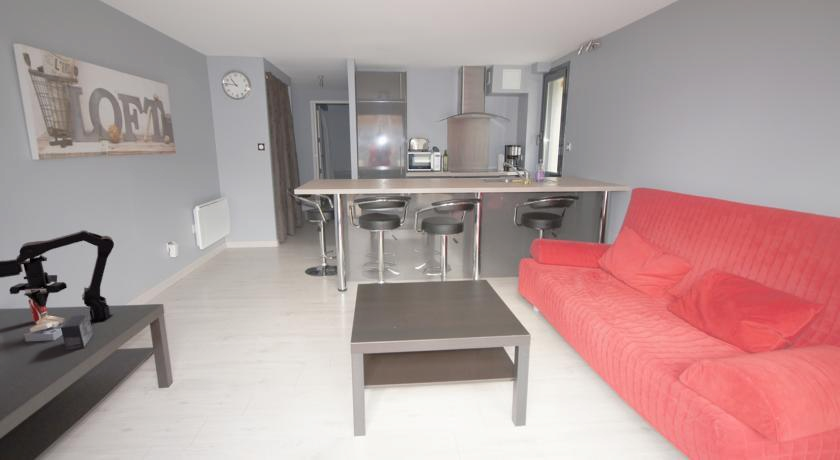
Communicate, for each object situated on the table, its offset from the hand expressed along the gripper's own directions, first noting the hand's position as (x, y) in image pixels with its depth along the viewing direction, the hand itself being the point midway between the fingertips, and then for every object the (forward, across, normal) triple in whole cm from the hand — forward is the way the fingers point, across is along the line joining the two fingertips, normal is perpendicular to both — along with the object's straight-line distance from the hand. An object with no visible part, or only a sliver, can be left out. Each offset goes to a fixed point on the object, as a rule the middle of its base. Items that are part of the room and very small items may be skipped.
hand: (42, 306), depth 176 cm
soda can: (+12, +11, -10) cm, 19 cm away
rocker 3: (+6, -3, 0) cm, 7 cm away
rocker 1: (+6, -3, +7) cm, 10 cm away
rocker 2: (+6, -3, +4) cm, 8 cm away
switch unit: (+12, -3, +4) cm, 12 cm away
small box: (+12, -21, +12) cm, 27 cm away
